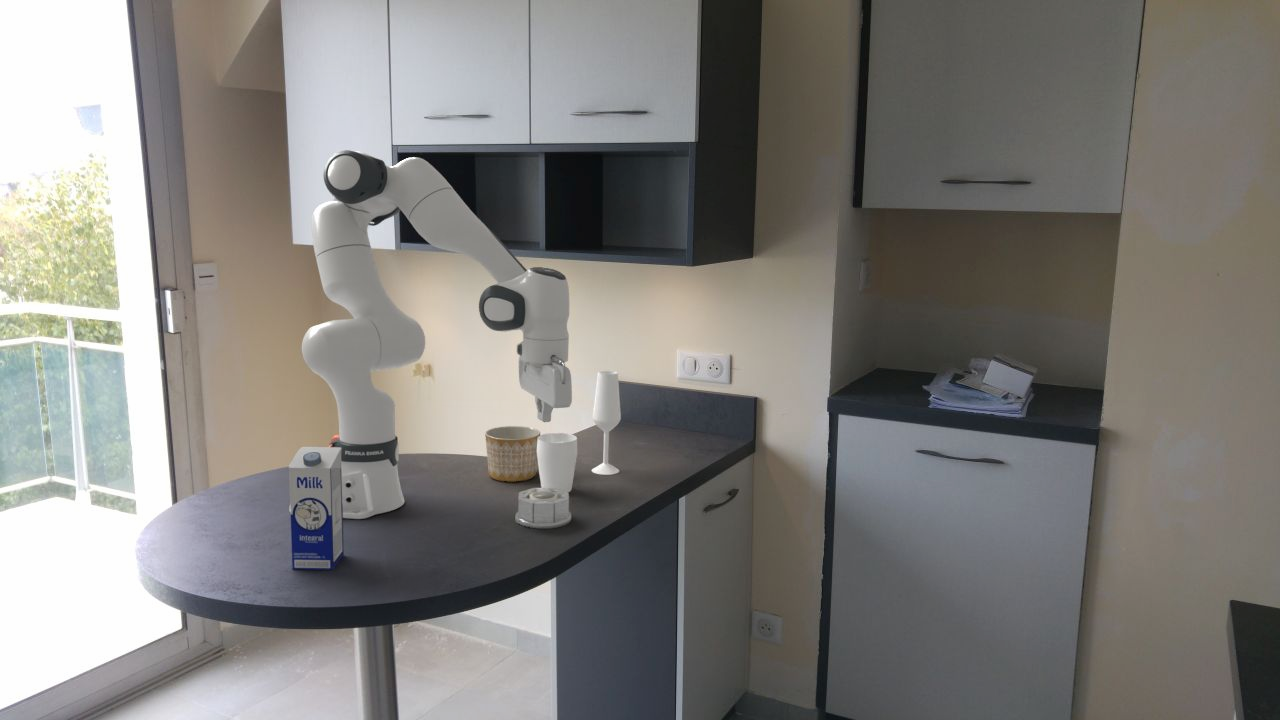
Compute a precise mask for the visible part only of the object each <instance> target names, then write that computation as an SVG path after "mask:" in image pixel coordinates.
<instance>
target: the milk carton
mask: <svg viewBox="0 0 1280 720" xmlns="http://www.w3.org/2000/svg"><path fill="white" fill-rule="evenodd" d="M287 468H288V474H289V475H288V478H289V481H288V482H289V483H288V485H289V509H290V510H289V512H290V534H291V535H290V536H291V537H290V538H291V562H292V563H291V566H292V567H291V569H292V570H305V571H306V570H309V571H311V570H312V571H314V570H315V571H333V570H334V568H335V567H336V566H337V565H338V564H339V562H340V561H341V560H342V558H343V557H344V555H345V554H344V550H345V549H344V547H345V546H344V521H343V519H344V518H343V507H342V467H341V447H329V446H301V447H300V448H299V449H298V450H297V452H296V453H295V455H294V457H293V459H292V460H291V461H290V463H289V465H288V466H287Z"/></svg>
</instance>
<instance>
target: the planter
mask: <svg viewBox="0 0 1280 720" xmlns="http://www.w3.org/2000/svg"><path fill="white" fill-rule="evenodd" d="M484 434H485V444H486V445H485V446H486V457H487V467H488V468H487V470H488V475H489V476H490V477H491V479H494V480H495V481H499V482H504V481H507V483H514V482H515V483H517V482H518V481H519V482H525V481H528V480H530V479H533V478H534V477H535V476H536V474H537V470H538V469H537V468H538V459H537V438H538V436H540V435H541V431H540V430H538V429H536V428H533V427H528V426H521V425H520V426H519V425H505V426H504V425H503V426H497V427H492V428H490V429H488V430H486V431H485V432H484ZM516 481H517V482H516Z"/></svg>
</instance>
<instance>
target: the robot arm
mask: <svg viewBox="0 0 1280 720" xmlns="http://www.w3.org/2000/svg"><path fill="white" fill-rule="evenodd" d="M323 183H324V184H325V186H326V189H327V190H328V192H329V193H330V194H331V195H332V197H334V198H333V199H332V200H331V201H327V202H324V203H322V204H320V205H319V206H317V207H316V208H315V209H314V211H313V213H312V214H311V236H312V244H313V250H314V255H315V260H316V264H317V268H318V273H319V277H320V281H321V286H322V289H323V293H324V294H325V296H326V297H327V298H328V299H329V301H331V302H333V303H335V304H337V305H339V306H341V307H343V308H344V309H345V310H347V311H348V312H349V314H350V315H351V316H352V318H348V319H347V318H345V319H344V318H343V319H333V320H329V321H326V322H323V323H320V324H315V325H314V326H311V327H309V328H308V329H307V331H306V332H305V334H304V336H303V338H302V342H301V354H302V358H303V360H304V362H305V364H306V366H307V367H308V368H309V369H310V370H311V372H313V373H314V374H316V375H318V376H319V377H320V378H321V379H323V380H324V381H325V382H326V384H327V385H328V386H329V388H330V389H331V391H332V393H333V395H334V399H335V401H336V407H337V415H338V428H339V432H338V433H339V434H336V435H333V436H332V438H331V440H330V443H329V446H328V447H341V467H342V507H343V519H353V520H362V519H363V520H364V519H367V518H370V517H373V516H375V515H379V514H384V513H388V512H391V511H394V510H396V509H397V510H398V508H401V507H402V506H403V505H404V504H405V502H406V501H405V498H404V495H403V492H402V487H401V483H400V477H399V473H398V472H399V470H398V463H399V453H400V452H399V443H398V442H399V441H398V436H397V435H396V404H395V401H394V400H393V398H392V397H391V396H390V394H388V393H387V392H385V391H384V390H382V389H379V388H378V387H375V385H374V384H373V380H372V376H371V374H372V372H377V371H379V372H380V371H385V370H394V369H399V368H402V367H405V366H409V365H411V364H413V363H416V362H418V361H419V360H421V358H422V355H423V354H424V352H425V350H426V349H425V348H426V347H425V346H426V336H425V332H424V330H423V328H422V326H421V325H420V323H419V322H418V321H417V320H416V319H415V318H412V317H410V316H409V315H407V314H406V313H405V312H403V311H402V310H401V309H400V308H399V307H398V306H397V305H396V304H395V303H394V301H393V300H392V298H390V296H389V295H388V293H387V292H386V290H385V288H384V286H383V284H382V281H381V278H380V276H379V271H378V269H377V266H376V262H375V259H374V257H375V256H374V254H373V250H372V246H371V243H370V238H369V234H368V228H369V226H372V227H373V226H374V227H375V226H378V225H379V224H381V223H382V222H383V221H385V220H387V219H389V218H392V217H394V216H396V215H397V214H398V213H400V212H402V213H403V214H404V216H405V217H406V218H407V220H408V221H409V223H410V224H411V225H412V227H413V228H414V229H415V231H416V232H417V234H418V235H419V236H421V238H423V240H425V241H426V242H427V243H429V244H430V246H432V247H435V248H437V249H440V250H444V251H448V252H454V253H457V254H460V255H464V256H466V257H468V258H470V259H473V260H474V261H476V262H477V263H479V265H481V266H482V267H483V268H484V269H485V270H486V272H488V273H489V274H490V276H491V277H492V278H493V279H494V281H495V282H497V283H495V284H493V285H490V286H488V287H486V288H485V289H484V290H483V291H482V293H481V294H480V298H479V302H478V312H479V316H480V318H481V320H482V322H483V324H484V325H485V326H486V327H488V328H489V329H490V330H492V331H496V332H502V333H503V332H505V333H506V332H511V331H521V332H522V336H523V337H522V341H521V342H519V343H517V344H516V354H517V355H518V381H519V386H520V388H521V389H522V390H524V391H525V392H528V393H529V394H531V395H532V396H534V401H535V402H534V403H535V406H536V410H537V417H536V418H537V419H538V420H539V421H541V422H542V423H550V422H551V421H552V413H553V410H554V409H565V408H566V409H567V408H570V406H571V405H572V402H573V390H572V389H573V387H572V385H573V384H572V383H573V382H572V374H571V370H570V369H569V367H568V366H566V363H567V362H568V361H569V331H568V321H569V318H570V288H569V283H568V279H567V277H566V275H564V274H563V273H562V272H561V271H559V270H556V269H554V268H553V269H552V268H548V267H542V266H534V267H530V268H528V269H526V267H525V266H524V265H523V264H522V263H521V262H520V260H518V259H517V257H516V256H515V255H514V254H513V252H512V251H510V249H509V248H508V247H507V246H506V245H505V244H504V243H503V242H502V240H500V238H499V237H498V236H497V235H496V234H495V233H494V232H493V231H492V230H491V229H490V228H489V227H487V225H486V224H485V223H484V222H482V221H481V219H480V218H478V217H477V215H476V214H475V213H474V212H473V211H472V210H471V209H470V207H469V206H468V205H467V204H466V202H464V200H463V199H462V198H461V196H460V195H459V194H458V193H457V191H455V189H454V187H453V186H452V185H451V184H450V183H449V182H448V181H447V179H446V178H445V177H444V176H443V175H442V174H441V173H440V172H439V171H438V170H437V169H436V168H435V167H434V166H433V165H432V164H431V163H429V162H428V161H427V160H425V159H424V158H421V157H417V156H416V157H415V156H413V157H408V158H405V159H403V160H401V161H399V162H398V163H397V164H395V165H393V166H390V165H386V163H385V161H384V160H382V159H381V158H378V157H375V156H372V155H370V154H368V153H366V152H362V151H358V150H354V149H353V150H352V149H345V150H340V151H338V152H335V153H334V154H333V155H332V156H331V157H330V158H329V159H328V160H327V161H326V163H325V166H324V169H323ZM288 510H289V511H290V508H289V509H288Z"/></svg>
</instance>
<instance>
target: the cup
mask: <svg viewBox="0 0 1280 720" xmlns="http://www.w3.org/2000/svg"><path fill="white" fill-rule="evenodd" d="M577 458H578V438H577V436H576V435H574V434H572V433H571V434H570V433H565V432H562V433H561V432H550V433H544V434H540V436H538V438H537V459H538V461H537V467H538V473H539V479H540V488H556V489H560V490H563V491H566V492H568V493H570V492H571V491H572V488H573V481H574V476H575V469H576V463H577Z"/></svg>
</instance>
